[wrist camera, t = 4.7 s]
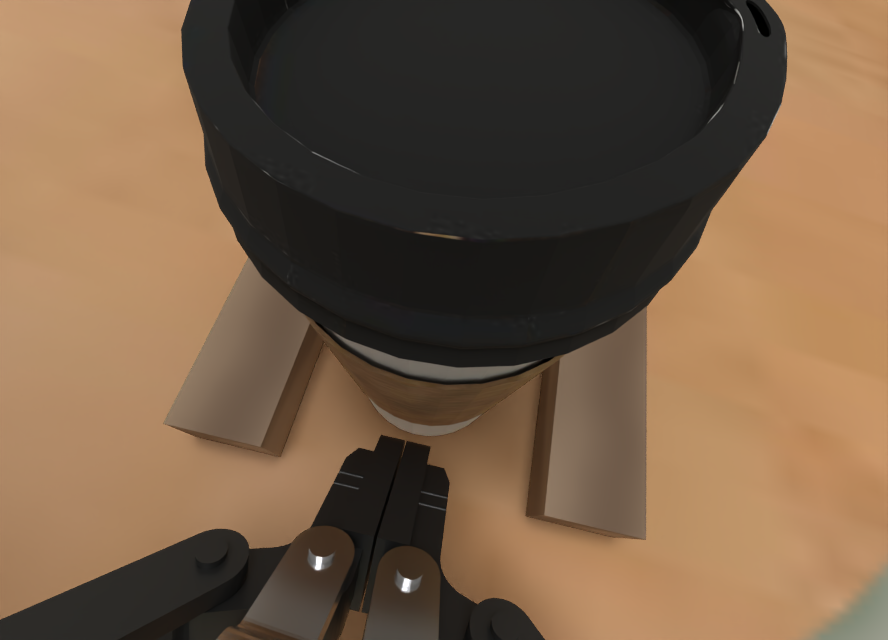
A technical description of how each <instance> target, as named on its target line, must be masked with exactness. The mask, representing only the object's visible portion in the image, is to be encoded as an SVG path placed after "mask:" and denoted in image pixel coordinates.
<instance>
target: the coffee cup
mask: <svg viewBox="0 0 888 640" xmlns="http://www.w3.org/2000/svg"><path fill="white" fill-rule="evenodd" d="M181 33H182V59H183V69H184V73H185V76H186V79H187V82H188V85H189V89H190V92H191V95H192V98H193V101H194V104H195V108H196V111H197V114H198V117H199V120H200V123H201V127H202V130H203V133H204V148H205V166H206V170H207V173H208V176H209V178H210V181H211V184H212V187H213V190H214V193H215V196H216V198H217V201H218V204H219V207H220V209H221V211H222V212H223V214H224V215H225V217H226V218H227V220H228V221H229V222H230V224H231V225H232V227H233V229H234V232H235V235H236V238H237V240H238V242H239V243H240V245H241V246H242V248H243V249H244V251H245V252H246V254H247V255H248V257H249V258H250V260H251V261H252V263H253V265H254V266H255V268H256V269H257V271H258V272H259V274H260V275H261V277H262V278H263V279H264V280H265V281H267V282H268V283H269V284H270V285H271V286H272V287H273V288H274V289H275V290H276V291H277V292H278V293H280V294H281V295H282V296H283V297H284V298H285V299H286V300H287V301H288V302H289V303H290V304H291V305H292V306H294V307H295V308H296V309H297V310H298V311H299V312H301V313H303V314H304V315H305V317H306V318H307V320H308V321H309V323H310V324H311V325H312V327H313V328H314V329H315V331H316V332H317V333H318V335H319V336H320V337H321V338H322V340H323V341H324V342H325V344H326V345H327V346H328V347H329V349H330V350H331V351H332V352H333V354H334V355H335V356H336V358H337V359H338V360H339V361H340V363H341V364H342V365H343V366H344V368H345V369H346V370H347V372H348V373H349V374H350V375H351V377H352V378H353V379H354V381H355V382H356V383H357V384H358V386H359V387H360V388H361V389H362V391H363V392H364V393H365V394H366V395H367V396H368V398H369V399H370V401H371V402H372V404H373V405H374V407H375V408H376V410H377V411H378V412H379V413H380V414H381V415H382V416H383V417H384V418H385V419H386V420H387V421H388V422H390V423H391V424H393V425H395V426H396V427H398V428H399V429H401V430H404V431H407V432H409V433H412V434H417V435H423V436H440V435H445V434H448V433H452V432H455V431H457V430H459V429H462V428H464V427H466V426H468V425H469V424H470V423H472V422H473V421H474V420H476V419H477V418H478V417H479V416H481V415H482V414H483V413H485V412H486V411H487V410H489V409H490V408H492V407H493V406H495V405H496V404H497V403H499V402H500V401H502V400H503V399H504V398H506V397H507V396H509V395H510V394H511V393H513V392H514V391H516V390H517V389H519V388H520V387H521V386H523V385H524V384H526V383H527V382H528V381H530V380H531V379H533V378H534V377H535V376H537V375H538V374H540V373H541V372H543V371H544V370H545V369H547V368H548V367H550V366H551V365H552V364H554V363H555V362H556V361H558V360H559V359H560V358H562V357H563V356H564V355H565V354H568V353H570V352H572V351H574V350H577V349H579V348H581V347H583V346H585V345H587V344H590V343H592V342H594V341H596V340H598V339H600V338H603V337H605V336H607V335H609V334H611V333H613V332H614V331H616V330H617V329H618V328H620V327H621V326H622V325H623V324H625V323H626V322H627V321H629V320H630V319H631V318H632V317H634V316H635V315H636V314H637V313H639V312H640V311H641V310H643V309H644V308H645V307H646V306H648V305H649V303H650V302H651V301H652V299H653V298H654V297H655V295H656V294H657V293H658V291H659V290H660V289H661V288H662V287H664V286H665V285H666V284H668V283H669V282H670V281H671V280H672V278H673V277H674V276H675V275H676V273H677V272H678V271H679V269H680V268H681V267H682V266H683V264H684V263H685V262H686V260H687V259H688V258H689V257H690V255H691V254H692V253H693V251H694V250H695V249H696V248H697V246H698V243H699V241H700V238H701V236H702V233H703V231H704V228H705V226H706V223H707V221H708V218H709V216H710V213H711V211H712V209H713V208H714V207H715V205H716V204H717V203H718V201H719V200H720V198H721V197H722V196H723V194H724V193H725V192H726V190H727V189H728V188H729V186H730V185H731V184H732V182H733V181H734V179H735V178H736V177H737V175H738V174H739V172H740V171H741V170H742V168H743V167H744V166H745V164H746V163H747V162H748V160H749V159H750V157H751V156H752V155H753V153H754V152H755V151H756V149H757V148H758V147H759V145H760V144H761V143H762V141H763V140H764V139H765V138H766V136H767V134H768V132H769V129H770V127H771V125H772V123H773V121H774V119H775V117H776V114H777V112H778V110H779V108H780V106H781V102H782V97H783V92H784V87H785V82H786V73H787V42H786V33H785V30H784V26H783V24H782V22H781V20H780V18H779V16H778V15H777V14H776V12H775V11H774V10H773V9H772V7H771V6H770V5H769V4H768V3H767V2H766V1H765V0H191V1H190V4H189V8H188V11H187V14H186V17H185V20H184V23H183V26H182V29H181Z"/></svg>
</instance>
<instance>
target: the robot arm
mask: <svg viewBox="0 0 888 640" xmlns="http://www.w3.org/2000/svg"><path fill="white" fill-rule="evenodd" d="M404 444H405V440H401V439H396V438H392V437H388V436H384V435H381V436H380V438H379V441H378V443H377V446H376V448H375V450H374V451H370V450H366V449H362V448H358V449H357V450H356V451H354V452H353V453H352V454H350V455H349V456H348V457H346V459H345V461H344V463H343V465H342V467H341V469H340V471H339V473H338V475H337V477H336V479H335V481H334V484H333V485H332V487H331V489H330V491H329V493H328V495H327V496H326V498H325V500H324V502H323V504H322V506H321V508H320V510H319V512H318V514H317V516H316V518H315V520H314V522H313V524H312V526H311V527H310V529H307V530H305V531H304V532H302V533H301V534H299V535H298V536H297V537H296V538H295V540H294V541H293V542H292V543H290V544H288V545H285V546H281V547H274V548H258V549H249V545H248V543H247V540H246V539H245V538H244V537H243V536H242V535H241V534H240V533H238V532H236V531H233V530H228V529H214V530H209V531H205V532H202V533H200V534H197V535H195V536H193V537H190V538H188V539H186V540H183V541H181V542H179V543H177V544H174V545H172V546H170V547H167V548H165V549H163V550H160V551H158V552H156V553H154V554H151V555H149V556H147V557H144V558H142V559H140V560H137V561H135V562H133V563H130V564H128V565H126V566H124V567H121V568H119V569H117V570H114V571H112V572H110V573H107V574H105V575H103V576H100V577H98V578H96V579H94V580H91V581H89V582H87V583H84V584H82V585H80V586H77V587H75V588H73V589H70V590H68V591H66V592H64V593H61V594H59V595H57V596H54V597H52V598H50V599H47V600H45V601H43V602H40V603H38V604H36V605H34V606H31V607H29V608H27V609H24V610H22V611H20V612H17V613H15V614H13V615H10V616H8V617H6V618H4V619H1V620H0V640H338V639H339V637H340V635H341V633H342V630H343V628H344V625H345V622H346V618H347V615H348V612H349V609H351V610H355V611H359V609H360V606H361V603H362V599H363V596H364V592H365V589H366V586H367V589H366V594H365V598H364V603H363V608H362V612H364V613H368V615H367V620H366V624H365V629H364V633H363V638H362V640H545V639H544V638H543V636H542V635H541V634H540V632H539V631H538V630H537V628H536V627H535V626H534V624H533V623H532V621H531V620H530V619H529V617H528V616H527V615H526V614H525V613H524V612H523V611H522V610H521V609H520V608H519V607H518V606H516V605H515V604H513V603H511V602H509V601H507V600H504V599H499V598H491V599H486V600H484V601H482V602H480V603H479V604H478V605H477V604H476V603H474V602H472V601H471V600H469V599H468V598H466V597H464V596H463V595H461V594H460V593H458V592H457V591H456V590H455V589H454V588H453V587H452V586H451V585H450V584H449V583H448V581H447V580H446V578H445V576H444V574H443V572H442V569H441V564H440V555H441V547H442V539H443V531H444V523H445V515H446V507H447V498H448V491H449V483H450V482H449V480H448V477H447V475H446V472H445V470H444V468H440V467H436V466H432V465H428V464H427V461H428V456H429V451H430V446H426V445H422V444H417V443H413V442H409V441H407V442H406V445H405V448H404ZM403 449H404V452H403ZM402 454H403V455H402ZM367 582H368V584H367Z"/></svg>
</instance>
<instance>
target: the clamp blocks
mask: <svg viewBox="0 0 888 640" xmlns="http://www.w3.org/2000/svg"><path fill="white" fill-rule="evenodd" d="M323 342H324V341H323V340H322V338H321V337H320V336H319V335H318V333H317V332H316V331H315V329H314V328H313V327H312V325H311V324H310V323H309V321H308V320H307V318H306V317H305V315H304V314H303V313H301V312H299V311H298V310H297V309H296V308H295V307H294V306H292V305H291V304H290V303H289V302H288V301H287V300H286V299H285V298H284V297H283V296H282V295H281V294H280V293H278V292H277V291H276V290H275V289H274V288H273V287H272V286H271V285H270V284H269V283H268V282H267V281H265V280H264V279H263V278H262V277H261V275H260V274H259V272H258V271H257V269H256V268H255V266H254V265H253V263H252V261H251V260H250V258H249V257H248V259H247V261H246V263H245V265H244V267H243V269H242V271H241V273H240V275H239V277H238V279H237V281H236V282H235V284H234V286H233V288H232V290H231V292H230V294H229V296H228V298H227V300H226V302H225V304H224V306H223V308H222V310H221V312H220V314H219V316H218V318H217V320H216V321H215V323H214V325H213V327H212V329H211V331H210V333H209V335H208V337H207V339H206V341H205V343H204V345H203V347H202V349H201V351H200V353H199V355H198V357H197V359H196V360H195V362H194V364H193V366H192V368H191V370H190V372H189V374H188V376H187V378H186V380H185V382H184V384H183V386H182V388H181V390H180V392H179V394H178V396H177V398H176V399H175V401H174V403H173V405H172V407H171V409H170V411H169V413H168V415H167V417H166V419H165V421H164V423H163V424H166V425H168V426H171V427H173V428H176V429H178V430H181V431H183V432H186V433H188V434H191V435H193V436H196V437H200V438H204V439H208V440H212V441H216V442H220V443H225V444H229V445H233V446H237V447H241V448H245V449H249V450H254V451H258V452H262V453H266V454H270V455H274V456H278V457H280V456H281V453H282V451H283V448H284V445H285V443H286V440H287V437H288V435H289V432H290V429H291V427H292V424H293V421H294V419H295V416H296V413H297V411H298V408H299V405H300V403H301V400H302V397H303V395H304V392H305V389H306V387H307V384H308V381H309V379H310V376H311V373H312V371H313V368H314V366H315V363H316V360H317V358H318V355H319V352H320V350H321V347H322V344H323ZM646 372H647V306H646V307H645V308H644V309H643V310H641V311H640V312H639V313H637V314H636V315H635V316H634V317H632V318H631V319H630V320H629V321H627V322H626V323H625V324H623V325H622V326H621V327H620V328H618V329H617V330H616V331H614V332H613V333H611V334H609V335H607V336H605V337H603V338H600V339H598V340H596V341H594V342H592V343H590V344H587V345H585V346H583V347H581V348H579V349H577V350H574V351H572V352H570V353H568V354H565V355H564V356H563V357H562V358H560V359H559V360H558V361H556V362H555V363H554V364H552V365H551V366H550V367H548V368H547V369H545V370H544V371H543V375H542V384H541V392H540V401H539V409H538V418H537V426H536V434H535V443H534V451H533V460H532V468H531V477H530V485H529V493H528V502H527V510H526V516H527V517H532V518H536V519H540V520H544V521H548V522H552V523H556V524H561V525H565V526H569V527H573V528H577V529H581V530H585V531H590V532H594V533H598V534H602V535H606V536H610V537H617V538H630V539H643V540H646Z"/></svg>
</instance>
